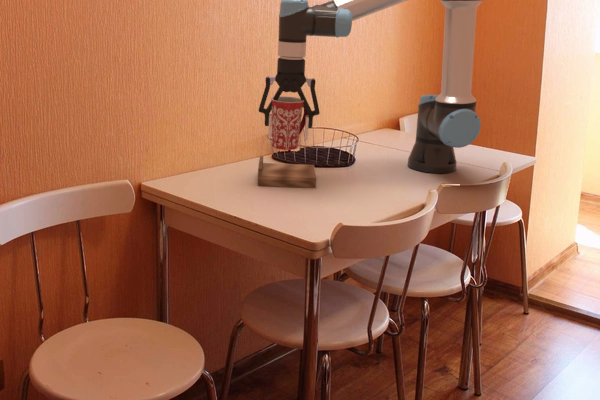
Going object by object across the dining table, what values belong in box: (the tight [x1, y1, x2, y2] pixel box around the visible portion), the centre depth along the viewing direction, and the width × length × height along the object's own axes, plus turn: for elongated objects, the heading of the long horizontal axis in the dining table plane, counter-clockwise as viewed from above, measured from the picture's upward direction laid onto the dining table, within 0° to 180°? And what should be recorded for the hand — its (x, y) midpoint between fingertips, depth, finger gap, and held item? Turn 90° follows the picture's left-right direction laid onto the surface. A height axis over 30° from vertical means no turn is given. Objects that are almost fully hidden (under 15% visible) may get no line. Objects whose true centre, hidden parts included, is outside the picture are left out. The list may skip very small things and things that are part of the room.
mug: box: [270, 95, 308, 151], centre depth 195 cm, size 13×9×14 cm
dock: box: [257, 155, 317, 189], centre depth 200 cm, size 16×14×5 cm
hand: (287, 138), depth 197 cm, fingers closed on mug, 9 cm apart
